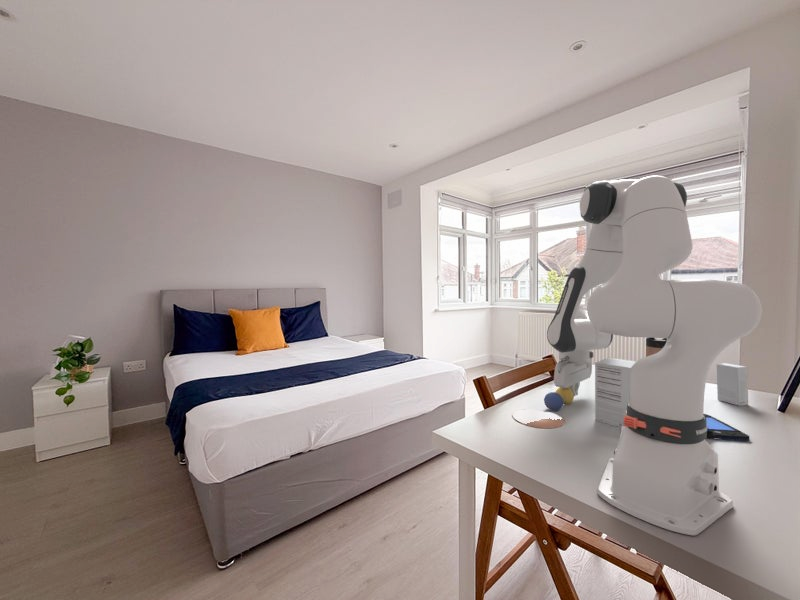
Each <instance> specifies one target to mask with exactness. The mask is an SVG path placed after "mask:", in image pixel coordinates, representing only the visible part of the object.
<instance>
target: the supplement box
mask: <svg viewBox="0 0 800 600" xmlns="http://www.w3.org/2000/svg"><path fill="white" fill-rule="evenodd" d="M636 362H637V361H635V360H629V359H623V358H615V357H607V358H605V359H601V360H598V361H595V362H594V374H595V375H594V388H595V389H594V391H595V392H594V393H595V394H594V395H595V396H594V401H595V402H594V412H595V413H594V414H595V415H594V417H595V419H594V420H595V421H597V422H601V423H604V424H608V425H611V426H615V427H618V428H621V427H623V426H624V422H623V421H624V417H625V413H626V409H627V404H628V403H629V386H630V369H631V367H632V366H633V365H634V364H635V363H636Z"/></svg>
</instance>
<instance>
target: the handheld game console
mask: <svg viewBox="0 0 800 600" xmlns="http://www.w3.org/2000/svg"><path fill="white" fill-rule="evenodd" d="M703 415H704V416H705V417H706V422H707V427H708V429H707V437H706V439H708V440H712V439H713V440H714V439H715V440H726V441H727V440H728V441H738V442H739V441H741V442H742V441H743V442H744V441H745V442H749V441H750V439H751V438H750V435H748V434H746V433H745V432H742V431H741V430H739V429H737V428H736V427H733V426H731V425H729V424H727V423H726V422H724V421H722V420H720V419H719V418H716V417H713V416H712V415H710V414H705V413H703Z"/></svg>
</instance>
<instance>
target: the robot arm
mask: <svg viewBox="0 0 800 600" xmlns="http://www.w3.org/2000/svg"><path fill="white" fill-rule="evenodd" d="M687 202H688V194H687V191H686V189H685V187H684V186H683V184H680V183H677V182H674V181H673V180H671V179H670V178H669V177H666V176H663V175H649V176H646V177H642V178H640V179H619V180H618V179H616V180H610V181H609V180H599V181H595V182H591V183H590V184H588V186H586V188H585V189H584V191H583V193H582V195H581V197H580V200H579V211H580V212H579V213H580V217H581V218H582V219H583V220H584V222H586V223H589V224H592V225H591V228H590V231H589V234H588V238H587V242H586V245H585V247H586V248H585V251H584V253H583V254H584V255H583V256H582V257H581V258H582V259H580V262H579V263H578V264H577V265H576V267H574V268H573V269H571V271H570V272H569V274H568V276H567V279H566V281H565V285H564V287H563V290H562V293H561V295H560V300H559V302H558V305H557V307H556V311H555V313H554V316H553V318H552V320H551V322H550V324H549V325H548V328H547V332H546V338H547V341H548V343H549V345H550V346H551V347H552V348H553V349H554V350H555V351H557V352H558V359H559V360H558V362H557V363H556V364H555V366H554V373H553V384H554V387H557V388H569V389H570V390H571V391H572V392H573V394H574V397H576V396H578V395H579V388H580V386H581V385H580V384H581V382H583V381H585V380H588V379H590V378H591V376H592V372H593V359H594V351H593V350H602V349H607V348H609V346H610V345H611V343H612V342H613V338H614V336H619V337H625V338H627V337H628V338H655V339H663V338H666V339H667V341H666V344H665V346H664V347H663V348H662V349H661V350H660V351H659V352H658V353H656V354H653V355H650V356H647V357H646V356H645V357H642V358H640V359H639V360H637V361H636V363H635V364H634V365H633V366H632V367H631V369H630V386H629V403H628V404H627V409H626V413H625V417H624V421H623V422H624V426H623V427H620V430H621V431H620V432H621V433H620V436H619V439H618V443H617V446H616V449H614V451H613V455H614V457H609V459H608V460H607V464H606V465H605V466H606V467H605V468H604V472H603V474H602V475H601V479H600V481H599V485H598V487H597V495H598V496H599V497H600V498H602V500H604V501H605V502H606V503H609V504H610V505H611V506H612V507H615V508H617V509H619V510H621V511H623V512H625V513H627V514H629V515H631V516H633V517H635V518H637V519H639V520H642V521H644V522H647V523H648V524H652V525H654V526H657V527H659V528H663V529H665V530H667V531H671V532H673V533H674V532H675V533H679V534H684V535H687V536H688V535H689V536H697V535H699V534H700V533H702V532H703V531H704V530H706V529H707V528H708V527H709V526H710V525H712V524H713V523H714V522H716V521H717V520H718V519H719V518H721V517H722V516H723V515H724V514H726V513H727V512H728V511H729V510H731V509H733V508H734V503H733V499H732V498H731V497H730V496H729V495H727V494H725V493H723V492H722V491H720V475H719V473H720V472H719V455H718V453H717V451H716V450H715V449H714V448H712V447H711V446H710V444H709V443H708V442H707V440H706V439H707V438H706V437H707V429H708V427H707V422H706V417H705V416H704V415H703V414H704V406H705V405H704V403H705V391H706V390H705V389H706V384H707V382H706V381H707V377H708V373H709V371H710V369H711V367H712V365H713V364H714V362H715V361H716V359H717V357H718V356H719V355H720V354H721V353H722V352H723V351H724V350H726V348H728V347H730V345H732V344H733V343H735V342H736V341H738V340H741V339H743V338H744V337H746V336H748V335H749V334H750V333H752V332H753V331H755V329H756V328H757V326H758V325H759V324H760V321H761V319H762V314H763V306H762V305H763V304H762V302H761V300H760V298H759V296H758V295H757V294H756V292H755V291H754V290H753V289H752V288H750V287H749V286H747V284H745V283H740V282H734V281H726V280H716V279H678V280H677V279H675V280H673V279H671V280H670V279H669V280H667V279H661V278H660V275H661V274H663V273H666V272H668V271H670V270H673V269H675V268H676V267H678V266H679V265H681V264H683V263H684V262H686V261H687V260H688V258H689V257H690V255H691V253H692V251H693V241H692V234H691V230H690V223H689V220H688V215H687V211H686V207H687ZM593 288H595V289H594V290H593ZM590 290H593V291H592V293H591V294H590V296H589V297H588V299H587V303H586V307H585V306H582V305H581V304H582V300H583V298H584V296H585V295H586V294H587V293H588V292H589V291H590Z"/></svg>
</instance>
